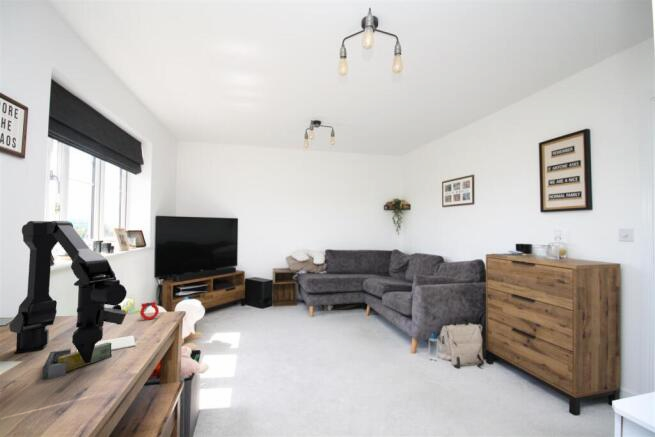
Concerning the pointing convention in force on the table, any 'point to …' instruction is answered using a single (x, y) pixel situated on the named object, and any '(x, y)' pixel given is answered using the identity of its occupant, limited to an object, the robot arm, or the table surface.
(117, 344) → the felt pad
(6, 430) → the table surface
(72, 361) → the medication box
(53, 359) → the cradle stand
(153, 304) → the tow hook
